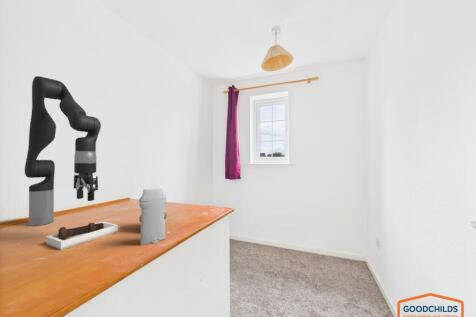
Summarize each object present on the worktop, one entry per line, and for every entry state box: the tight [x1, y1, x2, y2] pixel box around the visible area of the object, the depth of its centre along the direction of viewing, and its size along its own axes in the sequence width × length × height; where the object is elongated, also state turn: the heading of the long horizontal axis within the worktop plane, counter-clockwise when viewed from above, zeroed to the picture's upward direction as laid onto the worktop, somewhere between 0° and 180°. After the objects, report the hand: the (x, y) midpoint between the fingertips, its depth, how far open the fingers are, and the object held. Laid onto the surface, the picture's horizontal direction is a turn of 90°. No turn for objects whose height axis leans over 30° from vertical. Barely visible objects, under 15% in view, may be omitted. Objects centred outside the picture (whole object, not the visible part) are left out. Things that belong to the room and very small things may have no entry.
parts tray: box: [45, 221, 119, 251], centre depth 84 cm, size 12×21×3 cm, turn 153°
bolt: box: [58, 222, 104, 240], centre depth 84 cm, size 6×5×15 cm
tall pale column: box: [138, 186, 167, 246], centre depth 80 cm, size 11×4×22 cm, turn 134°
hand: (85, 199), depth 85 cm, fingers open, 8 cm apart
